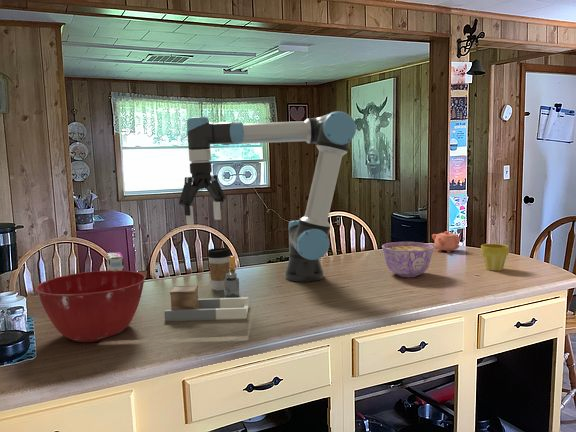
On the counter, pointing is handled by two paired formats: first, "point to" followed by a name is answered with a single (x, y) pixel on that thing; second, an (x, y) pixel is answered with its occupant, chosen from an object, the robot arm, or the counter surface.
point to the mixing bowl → (92, 303)
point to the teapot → (446, 241)
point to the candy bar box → (115, 261)
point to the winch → (231, 289)
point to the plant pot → (494, 256)
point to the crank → (231, 269)
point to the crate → (184, 297)
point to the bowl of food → (407, 257)
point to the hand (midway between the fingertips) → (204, 222)
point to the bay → (212, 310)
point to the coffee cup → (218, 266)
